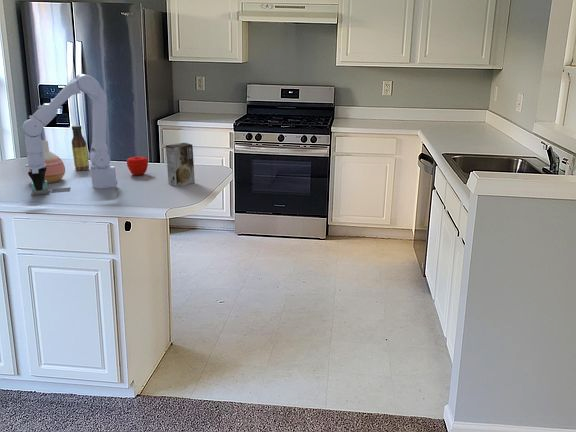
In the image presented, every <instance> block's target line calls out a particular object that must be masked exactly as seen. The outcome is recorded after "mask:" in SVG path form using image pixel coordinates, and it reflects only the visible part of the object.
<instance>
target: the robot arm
mask: <svg viewBox="0 0 576 432" xmlns="http://www.w3.org/2000/svg"><path fill="white" fill-rule="evenodd" d="M81 93H85V94H86V96H87V97H88V98H89V99H91V101H92V143H91V146H90V150H89V153H88V160H89V162H91V164H90V165H89V168H90V175H91V176H90V177H91V185H92V186H91V187H92V188H93V189H107V188H115V190H116V191H117V190H118V179H117V174H116V166H115V165H113V166H112V165H110V163H111V157H110V154H109V151H108V150H109V148H108V144H107V94H106V92H105V91H104V90H103V88H102V86H101V84H100V83H99V81H98V80H97V79H96V78H95V77H94V76H93V75H89V74H84V73H79V74H77V75H76V76H75V77H74V78H73V79H71V80H70V81H69V82H68V83H67V84H66V85H65V86H64V87H63V88H61V90H60V91H59V92H58V94H56V96H55V97H54V98H53V99H52V100H51V101H50V102H49V103H42V105H41V104H39V105H38V106H37V110H36V111H34V113H33V114H32V115H31V114H30V115H29V116H28V118H29V119H26V120H25V121H24V122H23V124H22V126H21V129H22V131H23V132H24V139H25V148H26V149H25V150H26V156H27V158H26V159H27V164H25V165H24V168H28V169H29V168H30V170H31V171H32V172H29V171H27V174H28V176H29V178H30V180H31V182H32V181H33V184H34V187H35V189H36V191H38V190H42V188H43V180H44V178H45V172H46V169H47V167H45V166H46V164H45V159H44V151H43V143H42V141H43V139H42V132H43V128H45V127H47V125H49V123H50V122H51V121H53V120H54V118H56V117H57V110H58V109H59V108H60V107H61V106H62V105H64V104H65V102H66V101H68V99H70V98H71V97H72V96H74V95H78V94H79V95H80V94H81Z"/></svg>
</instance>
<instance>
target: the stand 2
mask: <svg viewBox="0 0 576 432" xmlns="http://www.w3.org/2000/svg"><path fill="white" fill-rule="evenodd" d="M66 192H67V193H68V192H71V187H58V188H52V189H51V192H50V194H54V193H66Z"/></svg>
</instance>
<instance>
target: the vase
mask: <svg viewBox="0 0 576 432" xmlns="http://www.w3.org/2000/svg"><path fill="white" fill-rule="evenodd" d="M42 143H43V151H44V159H45V164H46V166H45V167H47V169H46V172H45V178H44V180H47V184H53V183H58V182H60V181H61V180H62V179H63V178H64V177H65V174H66V166H65V164H64V162H63V160H62V158H60V156H58V155H56V154H55V153H54V152H51V151H50V148H49V142H48V140H43V139H42ZM28 172H32V171H31V170H30V168H29V167H28Z"/></svg>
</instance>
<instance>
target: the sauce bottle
mask: <svg viewBox="0 0 576 432" xmlns="http://www.w3.org/2000/svg"><path fill="white" fill-rule="evenodd" d="M82 128H83V127H82V125H73V126H71V129H72V136H73V137H72V139H71V150H72V156H73V165H74V167H75V168H74V169H75V171H79V172H81V171H87V170H89V169H90V160H89V153H88V147H87V142H86V140H85V138H84V136H83V132H82Z"/></svg>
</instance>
